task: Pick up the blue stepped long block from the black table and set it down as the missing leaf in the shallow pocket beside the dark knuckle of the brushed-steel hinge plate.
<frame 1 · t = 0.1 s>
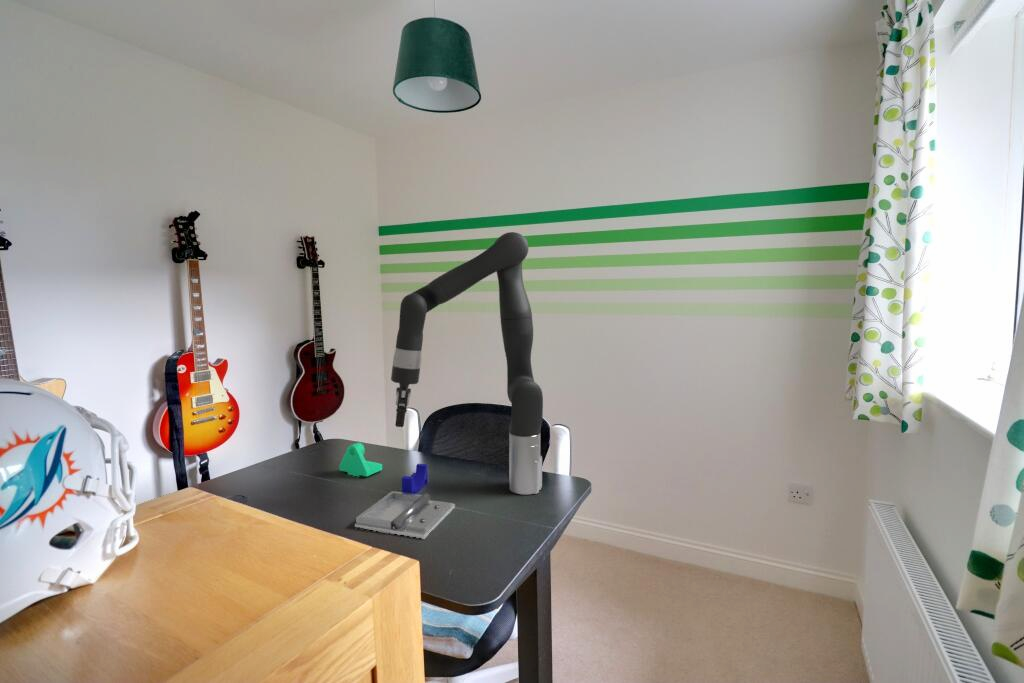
hand: (399, 422, 132), 22 cm above the table, tool pointing down, fingers open, 8 cm apart
camera mount: (361, 473, 156), on the table
blue stepped long block: (413, 490, 142), on the table
hinge plate: (412, 517, 123), on the table
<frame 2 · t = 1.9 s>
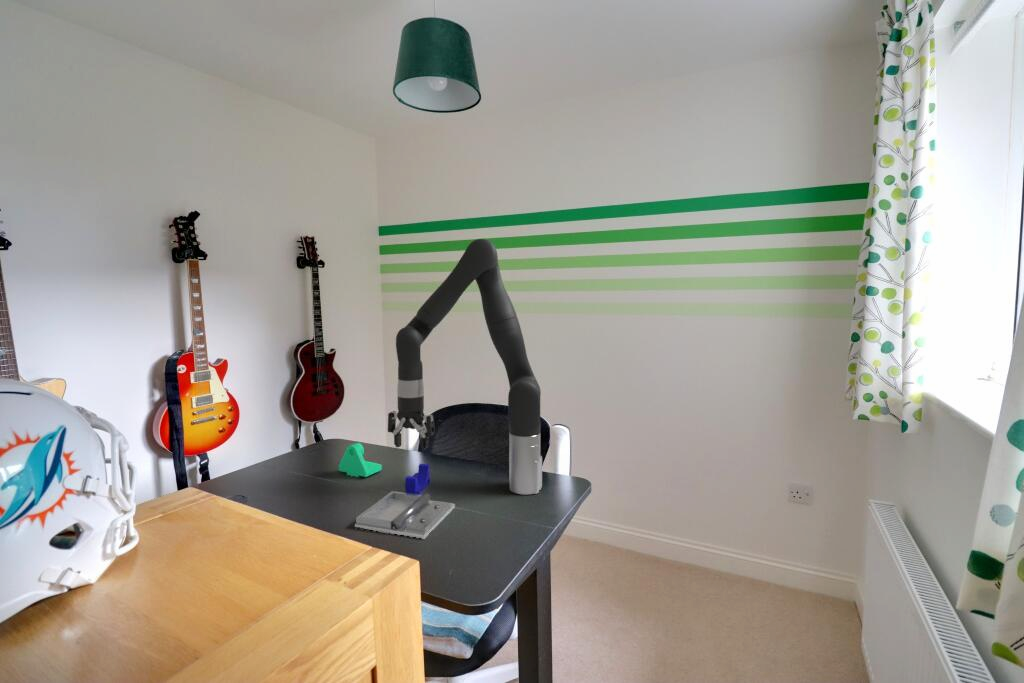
hand: (411, 447, 140), 13 cm above the table, tool pointing down, fingers open, 8 cm apart
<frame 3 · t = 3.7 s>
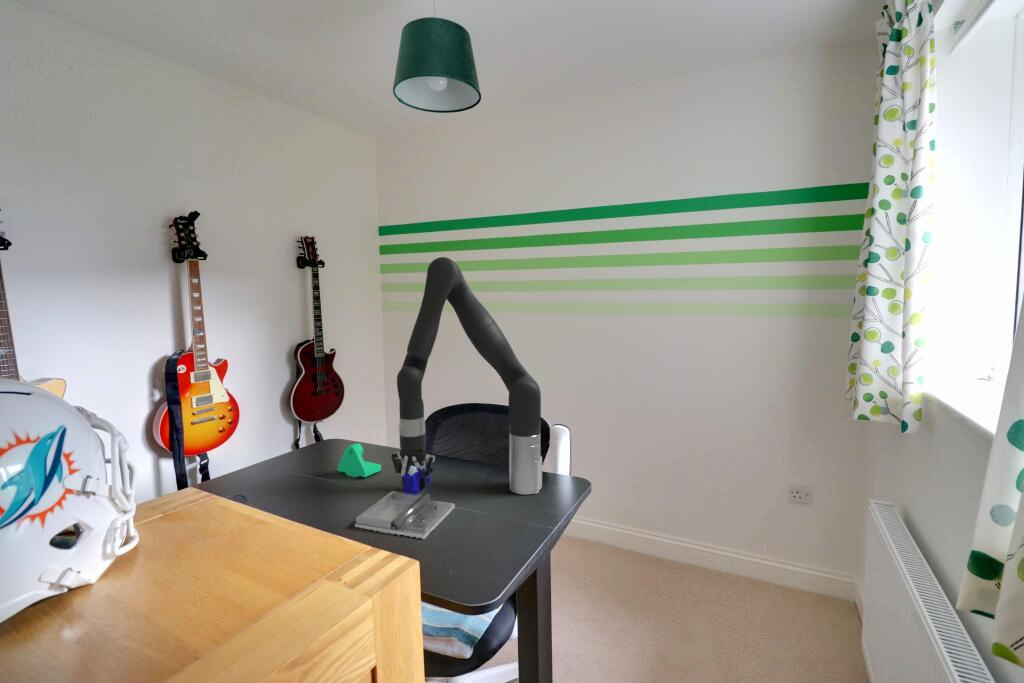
hand: (414, 487, 141), 1 cm above the table, tool pointing down, fingers closed on blue stepped long block, 4 cm apart
blue stepped long block: (415, 489, 142), on the table, touching gripper
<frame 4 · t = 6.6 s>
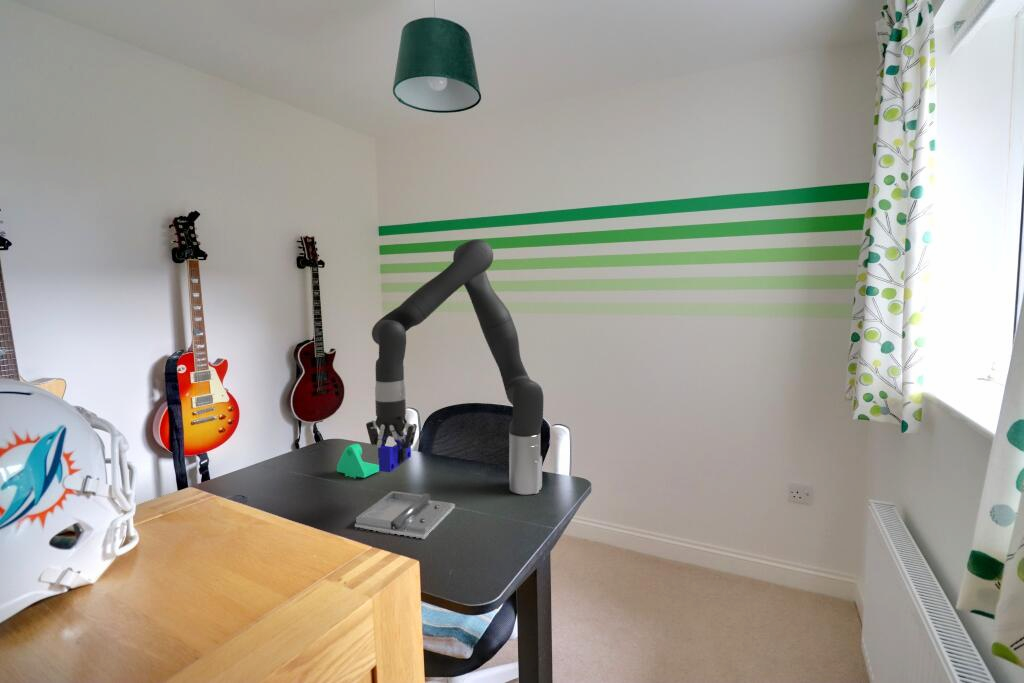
hand: (392, 461, 124), 15 cm above the table, tool pointing down, fingers closed on blue stepped long block, 4 cm apart
blue stepped long block: (393, 464, 124), point 14 cm above the table, touching gripper
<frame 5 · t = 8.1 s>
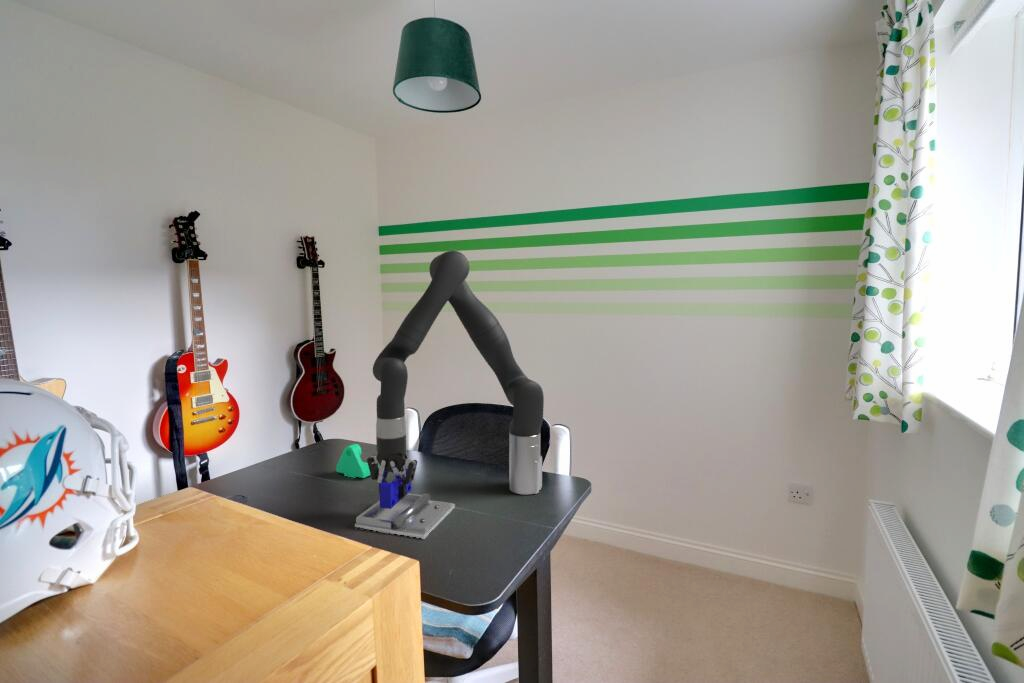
hand: (392, 496, 124), 5 cm above the table, tool pointing down, fingers closed on blue stepped long block, 4 cm apart
blue stepped long block: (393, 498, 125), point 4 cm above the table, touching gripper
when the fingers open (4 cm above the table, at t = 9.2 s): blue stepped long block drops 2 cm, resting on hinge plate.
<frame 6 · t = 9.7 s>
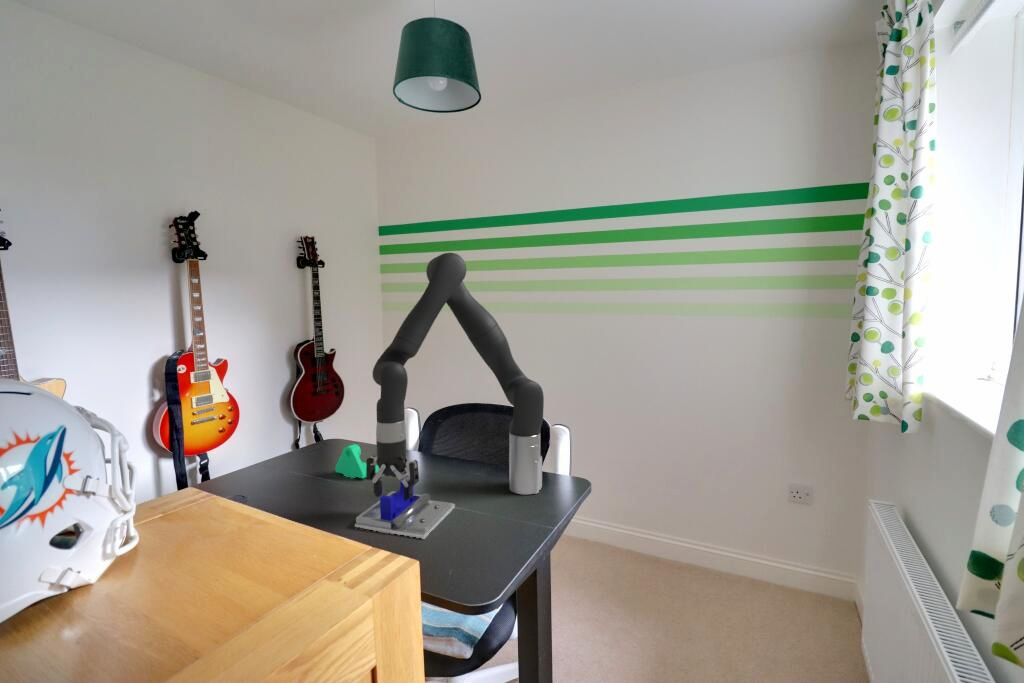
hand: (392, 497, 124), 5 cm above the table, tool pointing down, fingers open, 8 cm apart
blue stepped long block: (395, 511, 125), point 1 cm above the table, touching hinge plate
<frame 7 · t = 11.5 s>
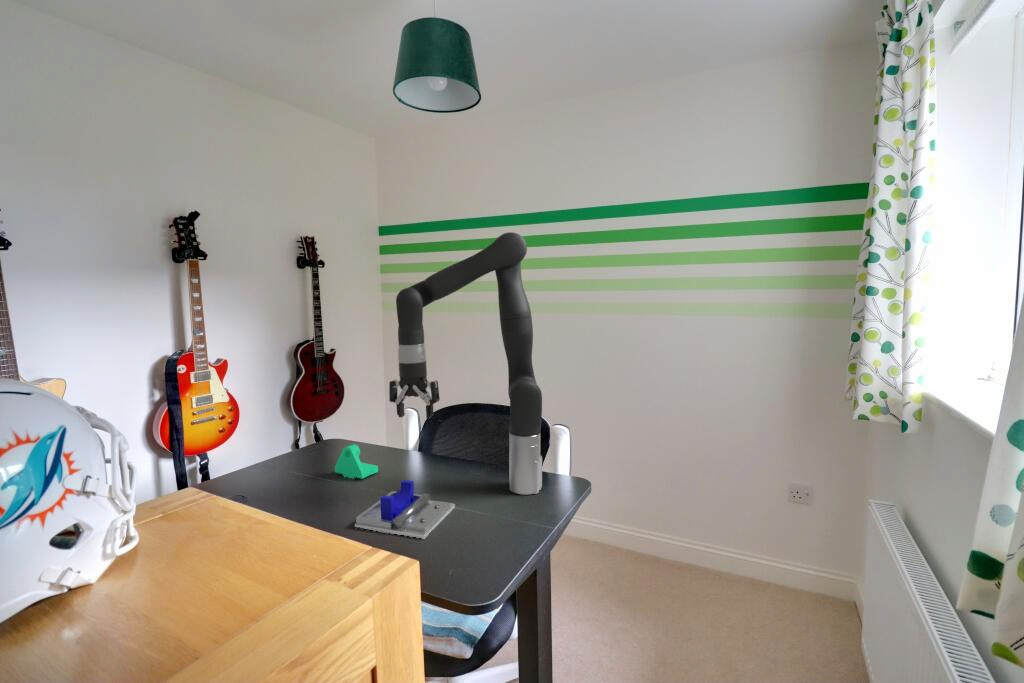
hand: (415, 417, 133), 24 cm above the table, tool pointing down, fingers open, 8 cm apart
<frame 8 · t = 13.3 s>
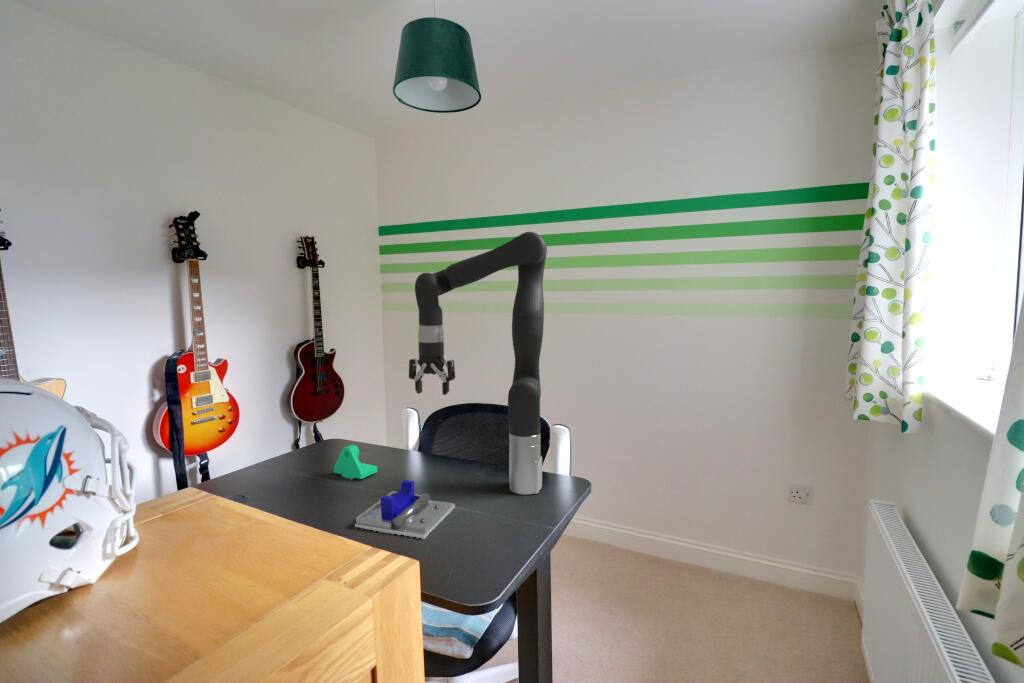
hand: (432, 393, 144), 28 cm above the table, tool pointing down, fingers open, 8 cm apart
at the end: blue stepped long block inside the target area on the hinge plate (0.8 cm from its centre), point 0.8 cm above the hinge plate's base; blue stepped long block tilted 0°; the gripper is holding nothing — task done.
